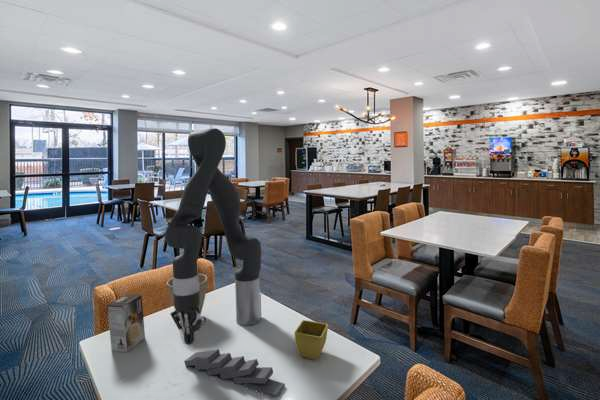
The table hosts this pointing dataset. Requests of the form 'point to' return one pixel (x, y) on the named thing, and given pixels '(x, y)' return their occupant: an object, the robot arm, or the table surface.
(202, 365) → the domino
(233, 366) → the domino
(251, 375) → the domino
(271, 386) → the domino
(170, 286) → the plant pot
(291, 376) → the table surface
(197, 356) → the domino
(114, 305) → the coffee box
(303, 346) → the flower pot
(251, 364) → the domino
